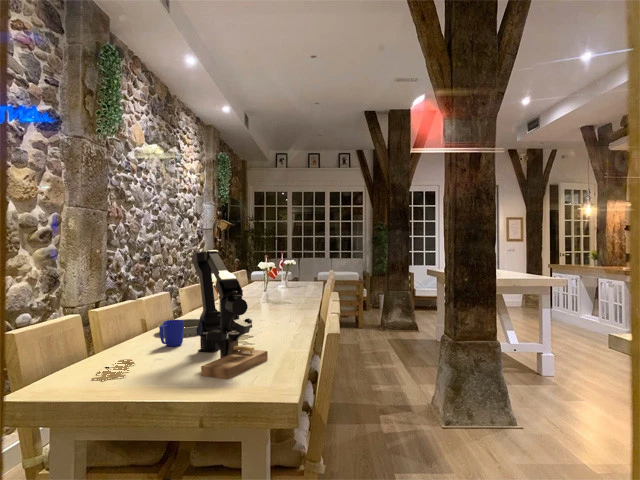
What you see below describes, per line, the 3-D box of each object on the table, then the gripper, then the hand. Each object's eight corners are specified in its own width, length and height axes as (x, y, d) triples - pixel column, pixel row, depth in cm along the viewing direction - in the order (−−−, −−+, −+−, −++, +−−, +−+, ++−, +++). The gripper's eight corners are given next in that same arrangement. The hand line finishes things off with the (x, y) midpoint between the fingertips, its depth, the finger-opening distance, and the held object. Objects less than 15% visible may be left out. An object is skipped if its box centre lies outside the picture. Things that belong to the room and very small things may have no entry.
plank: (201, 375, 146) (201, 366, 146) (243, 357, 170) (243, 348, 170) (227, 378, 143) (227, 368, 143) (267, 359, 166) (267, 350, 166)
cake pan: (168, 328, 234) (168, 319, 234) (216, 327, 233) (216, 318, 233) (149, 338, 209) (149, 328, 209) (202, 337, 208) (202, 327, 208)
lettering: (108, 362, 166) (108, 360, 166) (138, 360, 168) (138, 358, 168) (89, 383, 142) (89, 380, 142) (124, 380, 144) (124, 377, 144)
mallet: (220, 360, 165) (220, 341, 165) (227, 357, 169) (227, 339, 169) (249, 363, 159) (249, 345, 159) (256, 361, 163) (256, 342, 163)
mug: (152, 348, 186) (152, 324, 186) (172, 342, 197) (172, 319, 197) (169, 350, 183) (168, 325, 183) (188, 343, 194) (188, 320, 194)
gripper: (232, 317, 154) (233, 363, 154) (260, 309, 172) (261, 351, 172) (205, 315, 159) (205, 360, 159) (235, 308, 176) (235, 349, 176)
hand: (228, 355), depth 166 cm, fingers closed on mallet, 4 cm apart
